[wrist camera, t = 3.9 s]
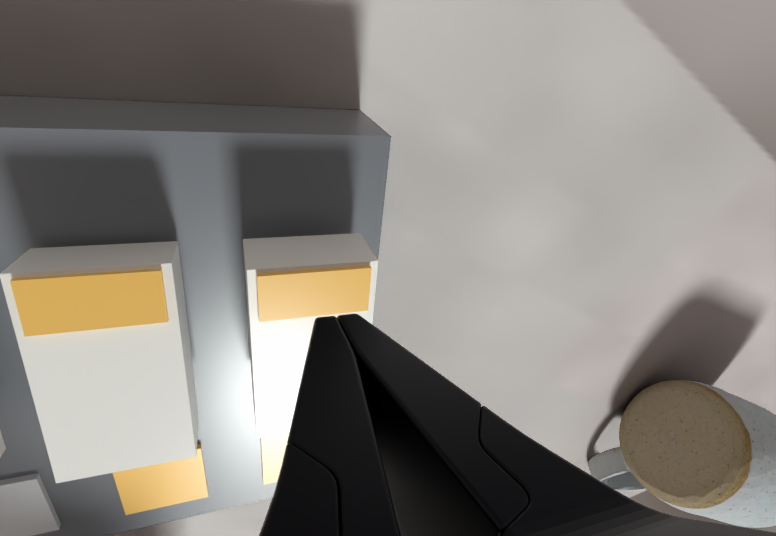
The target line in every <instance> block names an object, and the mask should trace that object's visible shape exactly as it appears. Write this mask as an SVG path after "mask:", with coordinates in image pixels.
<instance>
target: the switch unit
mask: <svg viewBox="0 0 776 536" xmlns="http://www.w3.org/2000/svg"><path fill="white" fill-rule="evenodd" d="M390 140H391V136H390V135H389V134H388V133H387V132H385V131H384V130H383V129H382V128H381V127H380V126H378V125H377V124H376V123H375V122H374V121H372V120H371V119H370V118H369V117H368V116H366V115H365V114H364V113H363V112H362V111H361V110H343V109H319V108H294V107H270V106H245V105H221V104H197V103H172V102H148V101H123V100H99V99H75V98H50V97H26V96H1V95H0V273H1V272H2V271H3V270H5V269H6V268H7V267H8V266H9V265H11V264H12V263H13V262H14V261H15V260H17V259H18V258H19V257H20V256H21V255H23V254H24V253H25V252H26V251H27V250H29V249H30V248H46V247H67V246H87V245H108V244H128V243H149V242H169V241H178V247H179V255H180V264H181V272H182V280H183V289H184V297H185V305H186V314H187V322H188V330H189V339H190V347H191V355H192V363H193V372H194V380H195V388H196V397H197V405H198V413H199V422H198V438H197V453H196V457H192V458H187V459H182V460H177V461H171V462H166V463H161V464H156V465H150V466H145V467H140V468H135V469H129V470H124V471H119V472H114V473H108V474H103V475H98V476H93V477H88V478H82V479H77V480H72V481H67V482H61V483H56V481H55V478H54V474H53V470H52V467H51V463H50V459H49V456H48V452H47V448H46V445H45V441H44V437H43V434H42V430H41V426H40V423H39V419H38V415H37V412H36V408H35V404H34V401H33V397H32V393H31V389H30V386H29V382H28V378H27V375H26V371H25V367H24V364H23V360H22V356H21V353H20V349H19V345H18V342H17V338H16V334H15V331H14V327H13V323H12V320H11V316H10V312H9V309H8V305H7V301H6V298H5V294H4V290H3V286H2V283H1V279H0V431H1V434H2V437H3V440H4V444H5V447H6V449H5V451H4V452H3V454H2V456H1V457H0V536H108V535H112V534H117V533H121V532H125V531H130V530H134V529H139V528H143V527H147V526H152V525H156V524H160V523H165V522H169V521H173V520H178V519H182V518H187V517H191V516H195V515H200V514H204V513H208V512H213V511H217V510H221V509H226V508H230V507H235V506H239V505H243V504H248V503H252V502H256V501H261V500H265V499H269V498H273V495H274V492H275V488H276V484H277V481H278V477H279V473H280V469H281V466H282V462H283V457H284V453H285V448H286V445H287V441H288V436H289V432H287V433H281V434H276V435H271V436H265V437H260V438H257V433H256V423H255V413H254V403H253V391H252V375H251V360H250V344H249V328H248V313H247V297H246V281H245V266H244V250H243V239H251V238H271V237H292V236H312V235H332V234H352V233H361V235H362V236H363V238H364V240H365V241H366V243H367V244H368V246H369V247H370V249H371V250H372V252H373V253H374V255H375V256H376V258H377V260H378V254H379V244H380V235H381V225H382V216H383V206H384V197H385V187H386V178H387V169H388V159H389V150H390Z"/></svg>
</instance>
